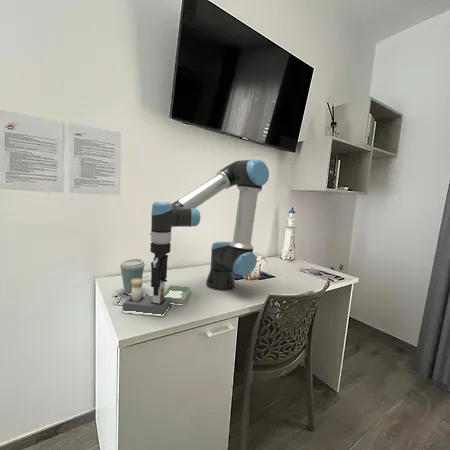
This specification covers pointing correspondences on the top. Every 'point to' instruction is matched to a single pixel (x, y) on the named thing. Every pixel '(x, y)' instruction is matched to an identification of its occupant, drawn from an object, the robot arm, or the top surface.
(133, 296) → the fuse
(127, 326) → the top surface
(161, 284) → the cylinder
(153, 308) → the grey rectangular block
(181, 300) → the parts tray
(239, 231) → the robot arm
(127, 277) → the disposable coffee cup
